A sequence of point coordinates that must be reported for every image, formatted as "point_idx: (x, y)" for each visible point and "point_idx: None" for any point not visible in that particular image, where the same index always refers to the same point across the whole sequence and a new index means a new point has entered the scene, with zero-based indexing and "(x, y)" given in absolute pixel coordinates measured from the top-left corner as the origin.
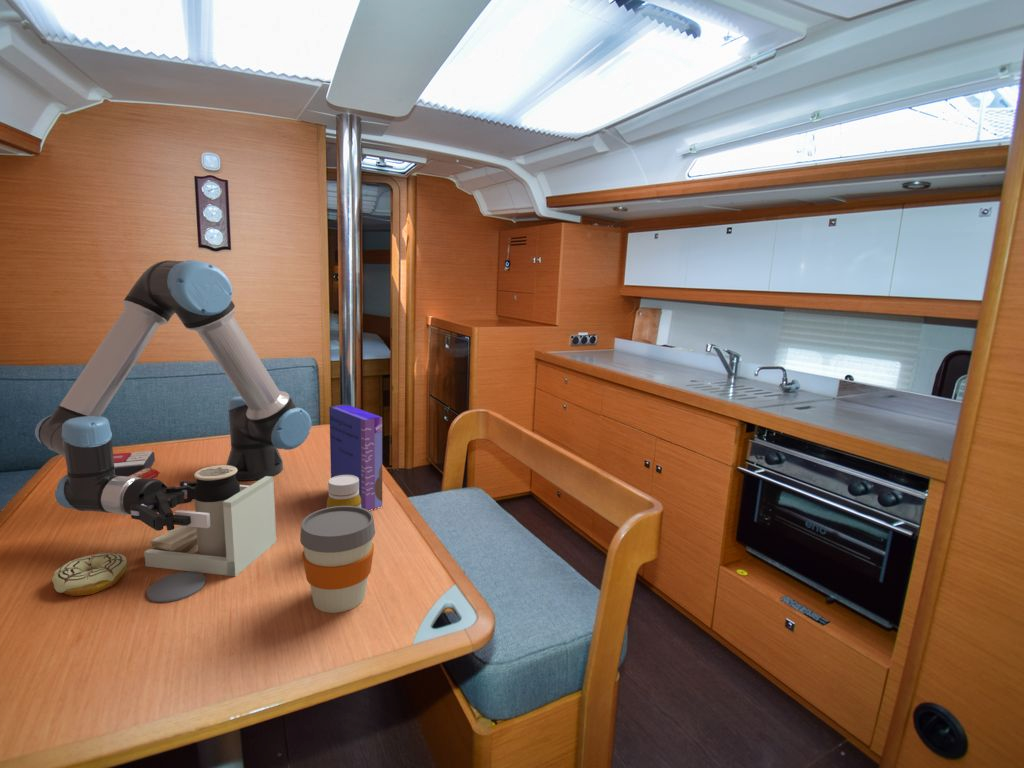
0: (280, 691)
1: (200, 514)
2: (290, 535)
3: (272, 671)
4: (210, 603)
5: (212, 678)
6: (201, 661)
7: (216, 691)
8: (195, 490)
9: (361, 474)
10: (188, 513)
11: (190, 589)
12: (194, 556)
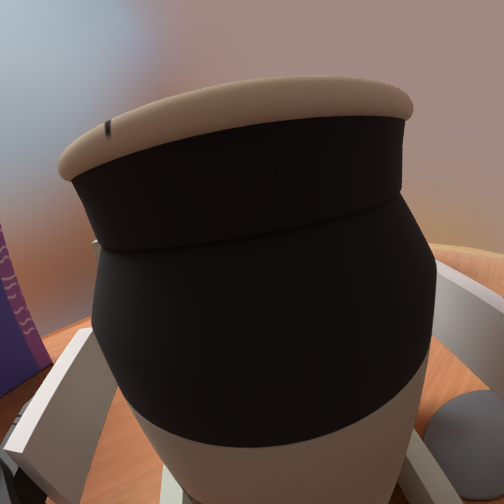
0: (441, 247)
1: (448, 269)
2: (142, 432)
3: (437, 257)
4: (452, 357)
5: (482, 269)
6: (487, 284)
7: (481, 261)
8: (429, 250)
9: (8, 298)
10: (490, 292)
11: (471, 402)
12: (430, 464)
